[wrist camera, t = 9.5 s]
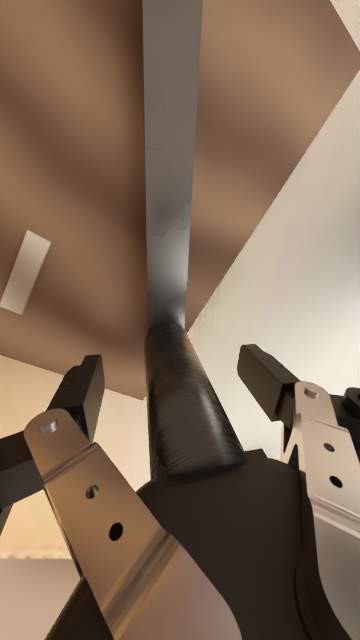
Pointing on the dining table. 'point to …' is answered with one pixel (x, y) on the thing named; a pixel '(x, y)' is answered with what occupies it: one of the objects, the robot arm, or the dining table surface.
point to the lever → (175, 249)
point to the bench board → (141, 162)
